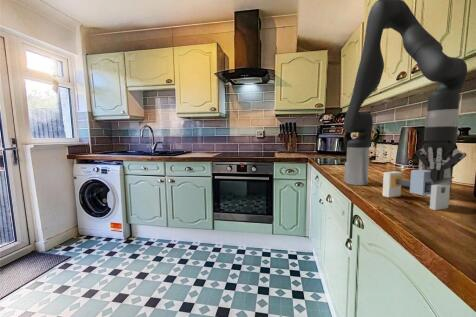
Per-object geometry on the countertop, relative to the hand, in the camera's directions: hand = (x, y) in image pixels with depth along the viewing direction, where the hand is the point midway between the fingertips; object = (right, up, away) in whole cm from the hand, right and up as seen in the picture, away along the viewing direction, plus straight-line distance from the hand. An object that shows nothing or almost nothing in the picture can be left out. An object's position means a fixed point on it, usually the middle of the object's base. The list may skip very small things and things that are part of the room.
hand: (436, 181), depth 70 cm
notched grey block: (-1, -4, +5) cm, 6 cm away
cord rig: (-2, -8, +7) cm, 11 cm away
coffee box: (+11, -7, +14) cm, 20 cm away
